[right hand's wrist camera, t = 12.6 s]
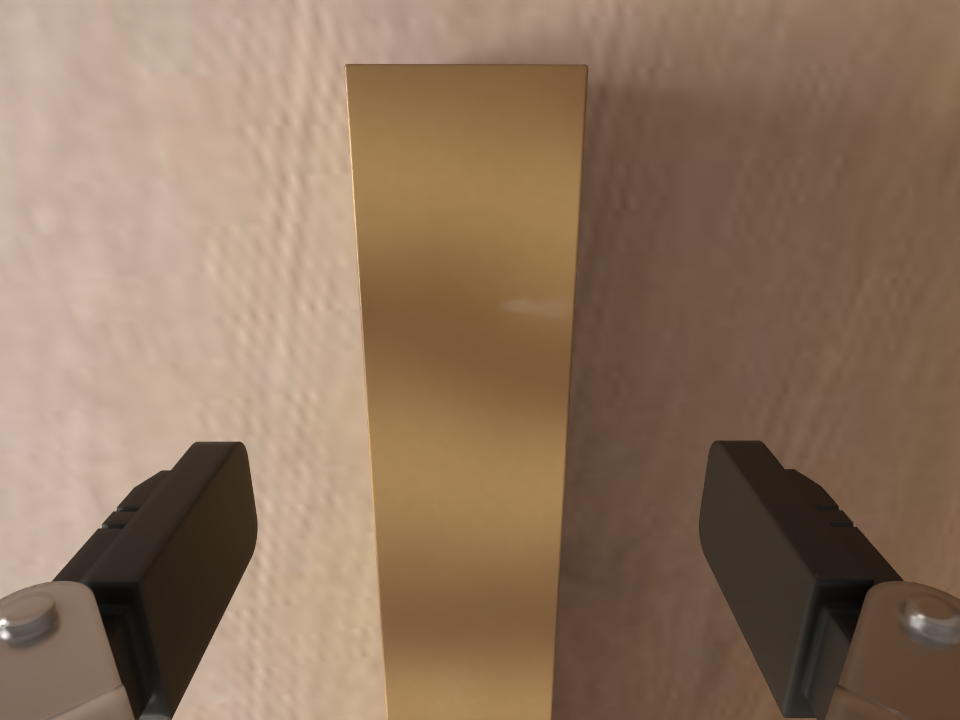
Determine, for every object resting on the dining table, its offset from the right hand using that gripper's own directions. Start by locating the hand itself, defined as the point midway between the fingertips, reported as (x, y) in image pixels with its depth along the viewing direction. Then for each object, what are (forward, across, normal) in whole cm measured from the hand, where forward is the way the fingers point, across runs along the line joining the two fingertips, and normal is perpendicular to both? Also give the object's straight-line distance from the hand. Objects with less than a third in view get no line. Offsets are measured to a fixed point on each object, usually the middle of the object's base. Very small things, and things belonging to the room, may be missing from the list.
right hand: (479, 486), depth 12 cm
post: (+13, 0, -22) cm, 25 cm away
